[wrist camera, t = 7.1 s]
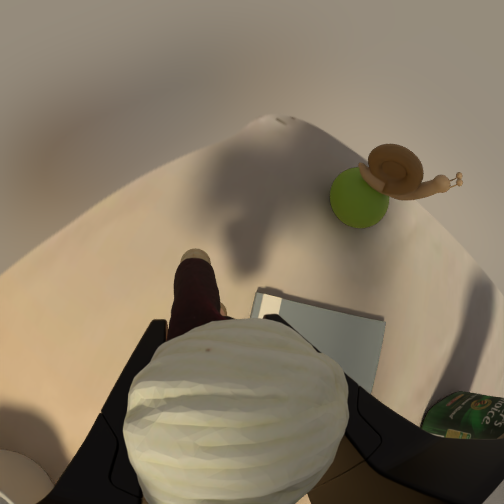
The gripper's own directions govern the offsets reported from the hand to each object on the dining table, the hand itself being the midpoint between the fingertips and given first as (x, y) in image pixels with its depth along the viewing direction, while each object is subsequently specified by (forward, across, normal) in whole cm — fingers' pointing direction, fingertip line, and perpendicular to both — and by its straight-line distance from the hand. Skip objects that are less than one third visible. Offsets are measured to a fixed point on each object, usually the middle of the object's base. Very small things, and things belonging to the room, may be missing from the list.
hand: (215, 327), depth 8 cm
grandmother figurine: (+4, 0, +6) cm, 7 cm away
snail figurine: (+16, -14, +3) cm, 22 cm away
